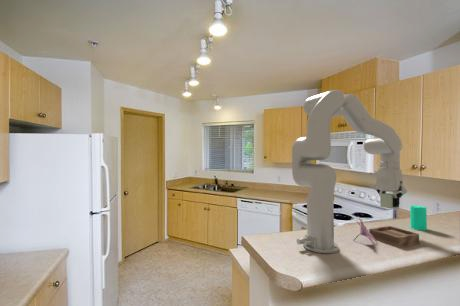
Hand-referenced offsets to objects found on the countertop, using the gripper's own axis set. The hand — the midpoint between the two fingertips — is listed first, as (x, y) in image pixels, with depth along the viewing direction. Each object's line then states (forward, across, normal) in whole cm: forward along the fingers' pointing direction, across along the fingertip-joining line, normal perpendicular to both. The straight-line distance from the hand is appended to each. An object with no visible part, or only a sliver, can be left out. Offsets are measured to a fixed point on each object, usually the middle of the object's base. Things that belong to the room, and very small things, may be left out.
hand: (389, 205), depth 107 cm
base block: (+13, +8, -9) cm, 17 cm away
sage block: (+1, 0, 0) cm, 1 cm away
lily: (+13, +6, -22) cm, 27 cm away
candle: (+12, +2, +17) cm, 21 cm away
